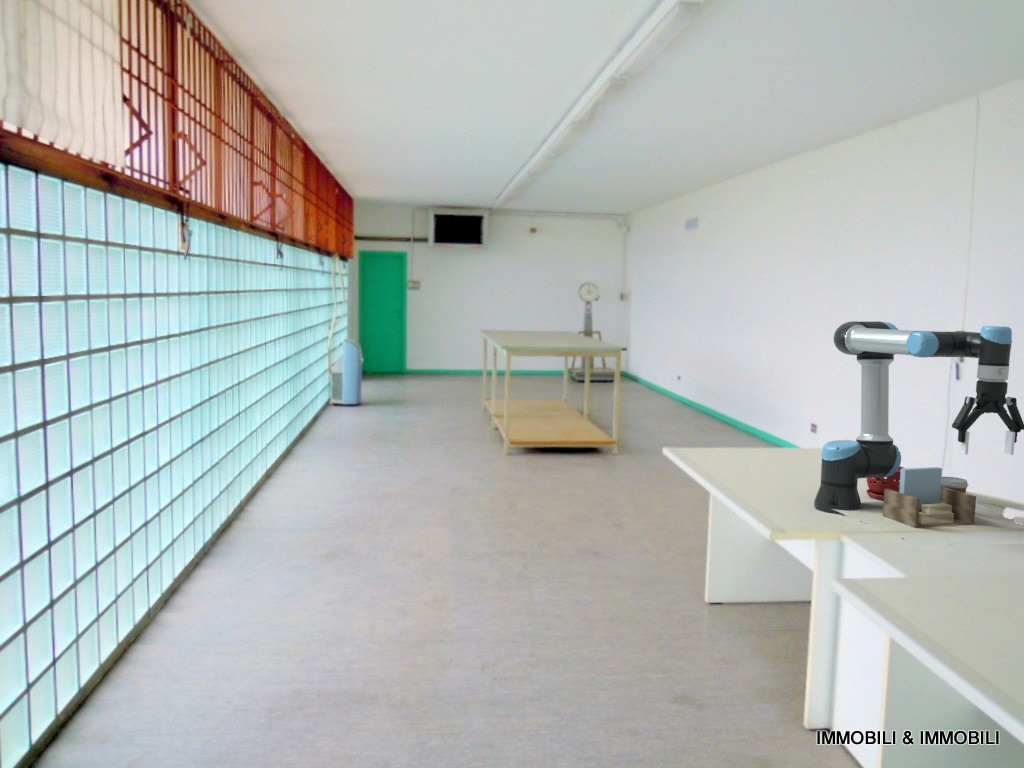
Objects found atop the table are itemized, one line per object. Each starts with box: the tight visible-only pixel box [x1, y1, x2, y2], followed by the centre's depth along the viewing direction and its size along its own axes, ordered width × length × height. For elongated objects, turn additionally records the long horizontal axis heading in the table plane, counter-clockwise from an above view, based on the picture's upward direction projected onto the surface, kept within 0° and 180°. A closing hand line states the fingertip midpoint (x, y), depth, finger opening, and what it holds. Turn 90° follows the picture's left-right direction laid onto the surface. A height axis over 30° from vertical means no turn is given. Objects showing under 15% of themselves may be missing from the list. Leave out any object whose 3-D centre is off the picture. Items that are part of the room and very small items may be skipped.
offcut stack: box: [918, 503, 954, 524], centre depth 239 cm, size 4×12×6 cm, turn 103°
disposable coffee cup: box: [941, 476, 969, 493], centre depth 255 cm, size 10×10×12 cm
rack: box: [882, 486, 977, 529], centre depth 242 cm, size 14×22×10 cm, turn 103°
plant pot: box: [865, 465, 905, 500], centre depth 277 cm, size 13×13×12 cm
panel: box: [899, 466, 943, 509], centre depth 245 cm, size 2×14×16 cm, turn 103°
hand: (986, 453), depth 217 cm, fingers open, 13 cm apart
